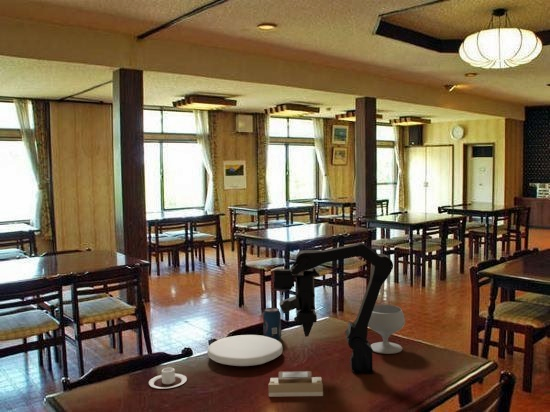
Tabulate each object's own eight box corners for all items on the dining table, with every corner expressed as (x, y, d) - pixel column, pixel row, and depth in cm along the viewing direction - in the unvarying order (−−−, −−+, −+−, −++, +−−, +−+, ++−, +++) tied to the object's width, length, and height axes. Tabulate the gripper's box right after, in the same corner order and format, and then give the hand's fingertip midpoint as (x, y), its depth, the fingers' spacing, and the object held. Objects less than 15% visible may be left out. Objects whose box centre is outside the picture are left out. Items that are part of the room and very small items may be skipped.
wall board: (321, 380, 167) (320, 369, 167) (323, 395, 156) (322, 384, 156) (270, 381, 168) (270, 370, 167) (268, 396, 157) (268, 384, 156)
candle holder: (149, 393, 163) (149, 379, 162) (148, 378, 174) (147, 365, 174) (189, 387, 166) (188, 374, 165) (184, 373, 177) (184, 360, 177)
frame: (311, 382, 163) (311, 370, 163) (312, 390, 157) (311, 378, 157) (279, 382, 164) (278, 371, 163) (278, 390, 158) (278, 378, 157)
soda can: (262, 337, 211) (261, 308, 210) (279, 335, 213) (278, 306, 212) (266, 343, 204) (265, 312, 203) (283, 341, 206) (282, 310, 205)
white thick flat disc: (221, 331, 206) (288, 333, 201) (221, 347, 206) (288, 351, 201) (196, 347, 179) (273, 351, 173) (196, 367, 179) (273, 371, 173)
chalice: (379, 340, 204) (379, 301, 203) (412, 348, 194) (412, 307, 193) (358, 349, 194) (358, 309, 193) (392, 358, 184) (391, 316, 183)
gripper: (281, 283, 182) (282, 328, 184) (280, 297, 164) (281, 346, 165) (313, 282, 182) (314, 327, 183) (316, 296, 163) (317, 345, 165)
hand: (306, 336), depth 174 cm, fingers closed
